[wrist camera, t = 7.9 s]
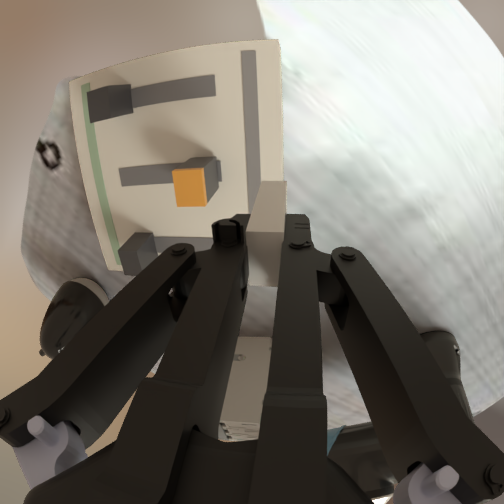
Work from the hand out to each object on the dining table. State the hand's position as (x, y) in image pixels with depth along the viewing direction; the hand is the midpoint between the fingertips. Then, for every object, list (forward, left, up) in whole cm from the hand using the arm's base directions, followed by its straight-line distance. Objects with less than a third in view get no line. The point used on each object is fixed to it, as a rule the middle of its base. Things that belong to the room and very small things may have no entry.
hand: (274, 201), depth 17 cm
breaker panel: (+11, 0, -14) cm, 17 cm away
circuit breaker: (+7, +31, -14) cm, 35 cm away
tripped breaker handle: (+7, 0, -8) cm, 11 cm away
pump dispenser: (+32, +21, -14) cm, 41 cm away
